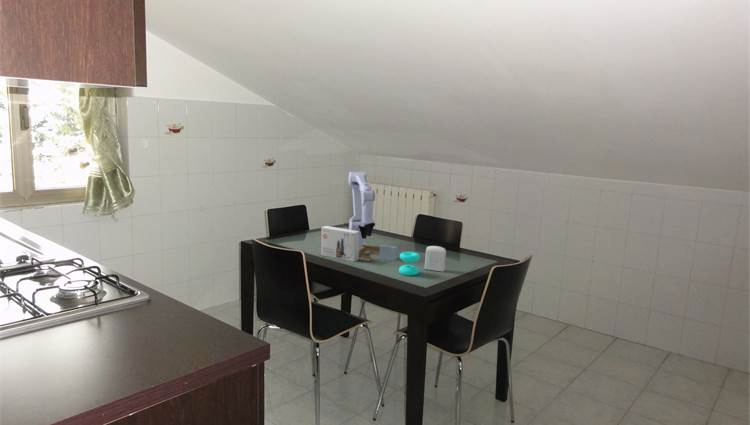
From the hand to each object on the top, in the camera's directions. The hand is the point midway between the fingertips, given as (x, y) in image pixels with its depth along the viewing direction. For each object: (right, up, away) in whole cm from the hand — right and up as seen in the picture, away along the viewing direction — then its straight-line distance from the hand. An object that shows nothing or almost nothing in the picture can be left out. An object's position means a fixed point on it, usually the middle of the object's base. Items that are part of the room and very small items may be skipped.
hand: (366, 237), depth 293 cm
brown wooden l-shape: (+2, -10, +3) cm, 11 cm away
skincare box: (-14, -11, -4) cm, 19 cm away
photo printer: (+35, -16, -20) cm, 43 cm away
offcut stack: (0, -12, -6) cm, 13 cm away
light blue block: (+12, -12, -2) cm, 17 cm away
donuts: (+21, -17, -28) cm, 39 cm away
